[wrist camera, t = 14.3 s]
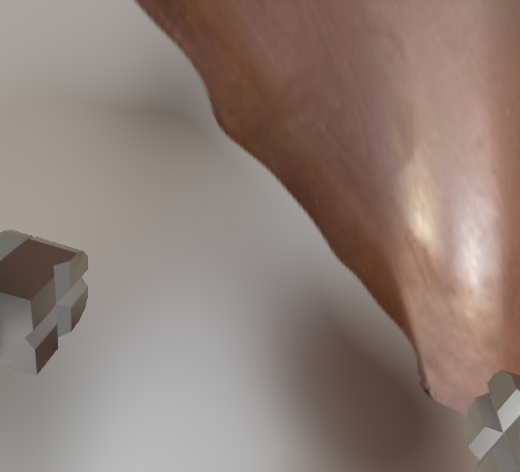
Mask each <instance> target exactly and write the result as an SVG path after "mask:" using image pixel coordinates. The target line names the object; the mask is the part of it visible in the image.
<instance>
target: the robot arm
mask: <svg viewBox="0 0 520 472" xmlns="http://www.w3.org/2000/svg"><path fill="white" fill-rule="evenodd" d="M87 270H88V256H87V255H86V254H85V253H84V252H83V251H81V250H77V249H74V248H71V247H68V246H64V245H61V244H58V243H55V242H51V241H48V240H45V239H42V238H39V237H33V236H31V235H27V234H24V233H21V232H18V231H14V230H6V231H2V232H1V233H0V365H1V366H5V367H8V368H12V369H16V370H20V371H24V372H27V373H32V374H35V375H37V374H38V373H39V372H40V371H41V369H42V368H43V367H44V366H45V364H46V363H47V362H48V360H49V359H50V358H51V357H52V355H53V354H54V352H55V351H56V350H57V349H58V337H59V336H62V335H64V334H67V333H69V332H71V331H72V330H73V328H74V327H75V325H76V324H77V323H78V322H79V320H80V318H81V316H82V313H83V311H84V309H85V307H86V301H87V298H88V286H87V285H86V283H85V282H84V280H83V279H82V275H83V274H84V273H85V272H86V271H87ZM487 384H488V389H489V393H487V394H484V395H482V396H479V397H477V398H475V400H474V401H473V403H472V404H471V406H470V407H469V408H468V411H467V416H466V420H465V435H466V439H467V443H468V447H469V448H470V449H471V451H472V452H473V453H474V454H475V455H476V457H477V458H478V459H479V460H480V461H479V463H478V464H477V466H476V468H475V472H520V375H517V374H513V373H510V372H506V371H502V370H501V371H500V372H498V373H496V374H494V375H493V376H492V378H491V379H490V380H489V381H488V383H487Z"/></svg>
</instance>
